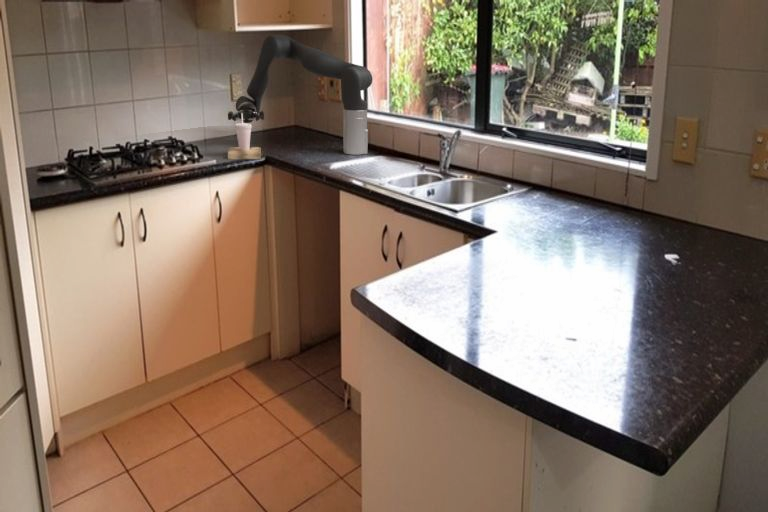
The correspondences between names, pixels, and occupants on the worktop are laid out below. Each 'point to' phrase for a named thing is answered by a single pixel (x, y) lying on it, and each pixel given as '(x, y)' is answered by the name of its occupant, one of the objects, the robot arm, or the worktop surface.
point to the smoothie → (243, 134)
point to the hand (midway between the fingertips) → (245, 118)
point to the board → (244, 153)
